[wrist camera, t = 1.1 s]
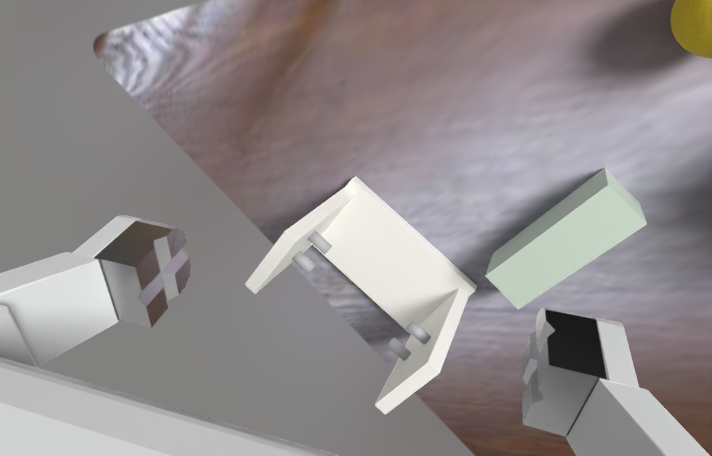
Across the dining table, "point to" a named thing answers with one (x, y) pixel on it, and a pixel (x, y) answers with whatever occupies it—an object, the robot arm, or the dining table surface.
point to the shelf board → (565, 239)
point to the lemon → (693, 26)
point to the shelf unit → (382, 278)
